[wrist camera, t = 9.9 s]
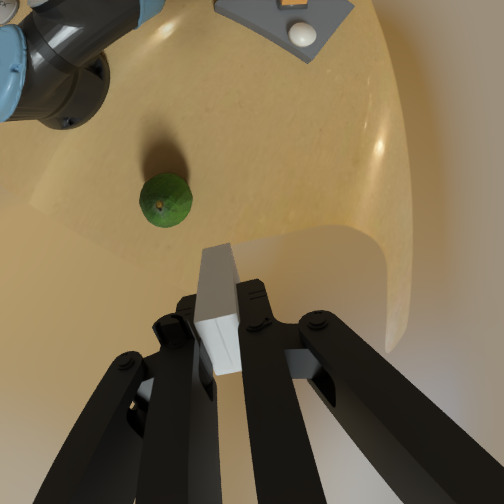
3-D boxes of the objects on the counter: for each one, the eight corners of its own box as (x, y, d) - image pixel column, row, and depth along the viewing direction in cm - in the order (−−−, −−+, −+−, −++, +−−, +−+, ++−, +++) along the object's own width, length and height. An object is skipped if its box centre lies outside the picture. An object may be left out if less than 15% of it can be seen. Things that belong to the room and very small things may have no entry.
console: (214, 11, 34) (214, 4, 31) (263, -39, 30) (265, -47, 27) (307, 64, 39) (312, 59, 36) (348, 11, 35) (355, 6, 32)
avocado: (205, 191, 46) (199, 209, 35) (174, 225, 48) (161, 253, 37) (168, 159, 43) (151, 167, 32) (139, 195, 45) (115, 215, 34)
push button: (290, 49, 35) (293, 45, 34) (284, 27, 34) (287, 23, 32) (315, 47, 36) (319, 43, 34) (309, 26, 34) (312, 22, 32)
